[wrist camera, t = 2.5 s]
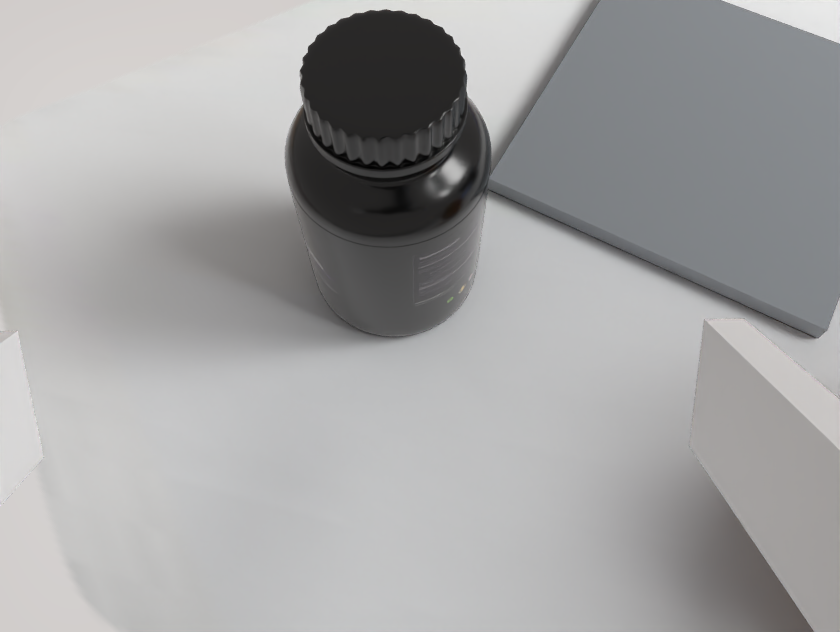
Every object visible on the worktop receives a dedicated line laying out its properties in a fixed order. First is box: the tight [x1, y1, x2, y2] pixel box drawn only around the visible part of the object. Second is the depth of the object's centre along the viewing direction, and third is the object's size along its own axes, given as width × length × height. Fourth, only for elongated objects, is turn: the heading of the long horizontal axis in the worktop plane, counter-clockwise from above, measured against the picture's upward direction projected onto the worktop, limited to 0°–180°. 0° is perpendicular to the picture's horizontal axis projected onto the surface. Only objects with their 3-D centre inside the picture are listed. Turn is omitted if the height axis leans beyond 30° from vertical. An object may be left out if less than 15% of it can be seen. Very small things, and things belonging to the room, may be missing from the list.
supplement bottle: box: [285, 9, 491, 337], centre depth 27 cm, size 7×7×12 cm
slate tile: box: [488, 0, 840, 338], centre depth 35 cm, size 15×15×1 cm
